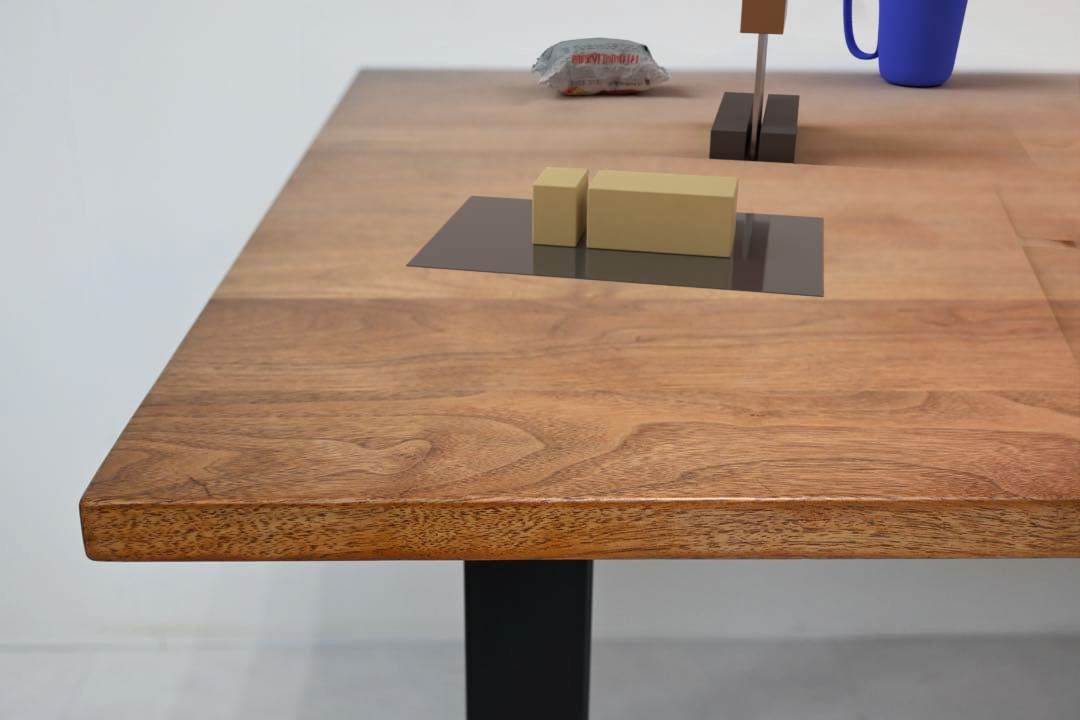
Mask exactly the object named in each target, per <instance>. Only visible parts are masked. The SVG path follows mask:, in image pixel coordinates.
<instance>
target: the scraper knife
mask: <svg viewBox="0 0 1080 720" xmlns="http://www.w3.org/2000/svg"><path fill="white" fill-rule="evenodd" d="M788 4H789V0H741V13H740V24H739V25H740V27H739V33H740V34H757V48H756V49H757V51H756V65H755V79H754V92H753V93H754V104H753V118H752V132H751V146H750V160H755V157H756V152H757V147H758V142H759V137H760V132H761V124H762V123H763V108H764V96H765V83H766V70H767V69H766V67H767V55H768V42H769V41H768V40H769V35H784V31H785V27H786V20H787V15H788Z"/></svg>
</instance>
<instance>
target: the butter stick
mask: <svg viewBox="0 0 1080 720" xmlns="http://www.w3.org/2000/svg"><path fill="white" fill-rule="evenodd" d="M739 181H740V180H739V178H738V177H735V176H734V177H732V176H716V175H698V174H682V173H681V174H679V173H663V172H647V171H628V170H611V169H599V170H598V171H597V173H596V175H595V176H594V178H593V179H592V181H591V183H590V184H589V185H588V203H587V248H597V249H611V250H626V251H640V252H655V253H669V254H684V255H698V256H713V257H727V258H729V257H730V256H731V251H732V246H733V242H734V237H735V226H736V212H738V211H737V210H738V198H739V197H738V195H739Z"/></svg>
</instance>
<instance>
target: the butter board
mask: <svg viewBox="0 0 1080 720" xmlns="http://www.w3.org/2000/svg"><path fill="white" fill-rule="evenodd" d="M532 225H533V198H531V199H529V198H516V197H514V198H513V197H499V196H482V195H481V196H480V195H470V196H469V197H468V198H467V200H466V201H465V202H464V203H463V204H462V205H461V206H460V207H459V208H458V209H457V210H456V211H455V213H453V214H452V215H451V216H450V218H449V219H447V221H445V223H444V224H443V225H442V226H441V227H440V228H439V229H438V230H437V232H435V234H433V236H432V237H431V238H430V239H429V240H428V241H427V242H426V244H424V245H423V247H422V248H421V249H420V250H418V252H417V253H416V254H415V255H414V256H413V257H411V259H410V260H409V261H408V262H407V263H406V265H405V267H409V268H423V269H437V270H450V271H465V272H476V273H491V274H505V275H518V276H532V277H546V278H556V279H557V278H559V279H572V280H587V281H598V282H599V281H600V282H612V283H613V282H614V283H625V284H626V283H627V284H640V285H654V286H667V287H668V286H669V287H678V288H679V287H681V288H693V289H706V290H707V289H709V290H720V291H722V290H723V291H734V292H748V293H763V294H777V295H787V296H788V295H789V296H802V297H816V298H824V217H819V216H818V217H817V216H805V215H804V216H803V215H787V214H786V215H785V214H770V213H757V212H756V213H755V212H739V211H736V226H735V237H734V242H733V246H732V251H731V256H730V257H729V258H727V257H713V256H698V255H684V254H669V253H655V252H640V251H626V250H611V249H597V248H587V228H586V229H585V231H584V233H583V235H582V236H581V238H580V240H579V242H578V243H577V245H576V247H567V246H553V245H538V244H533V243H532Z"/></svg>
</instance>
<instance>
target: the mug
mask: <svg viewBox="0 0 1080 720" xmlns="http://www.w3.org/2000/svg"><path fill="white" fill-rule="evenodd" d="M968 2H969V0H878V24H877V27H878V28H877V42H876V48H875V51H874V52H873V53H868V52H865V51H863V50H861V48H859V46H858V45H857V43H856V39H855V35H854V28H853V0H842V21H843V33H844V40H845V44H846V47H847V49H848V52H849V53H850V54H851V55H852V56H853V57H854V58H856V59H858V60H862V61H871V60H876V59H877V60H878V71H879V75H880V77H881V78H882V79H883V80H885V81H886V82H888V83H891V84H895V85H899V86H907V87H908V86H909V87H933V86H938V85H943V84H945V83H946V82H947V81H949V80H950V78H951V77H952V74H953V72H954V68H955V64H956V58H957V54H958V50H959V49H958V48H959V44H960V40H961V35H962V30H963V26H964V20H965V16H966V12H967V6H968Z"/></svg>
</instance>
